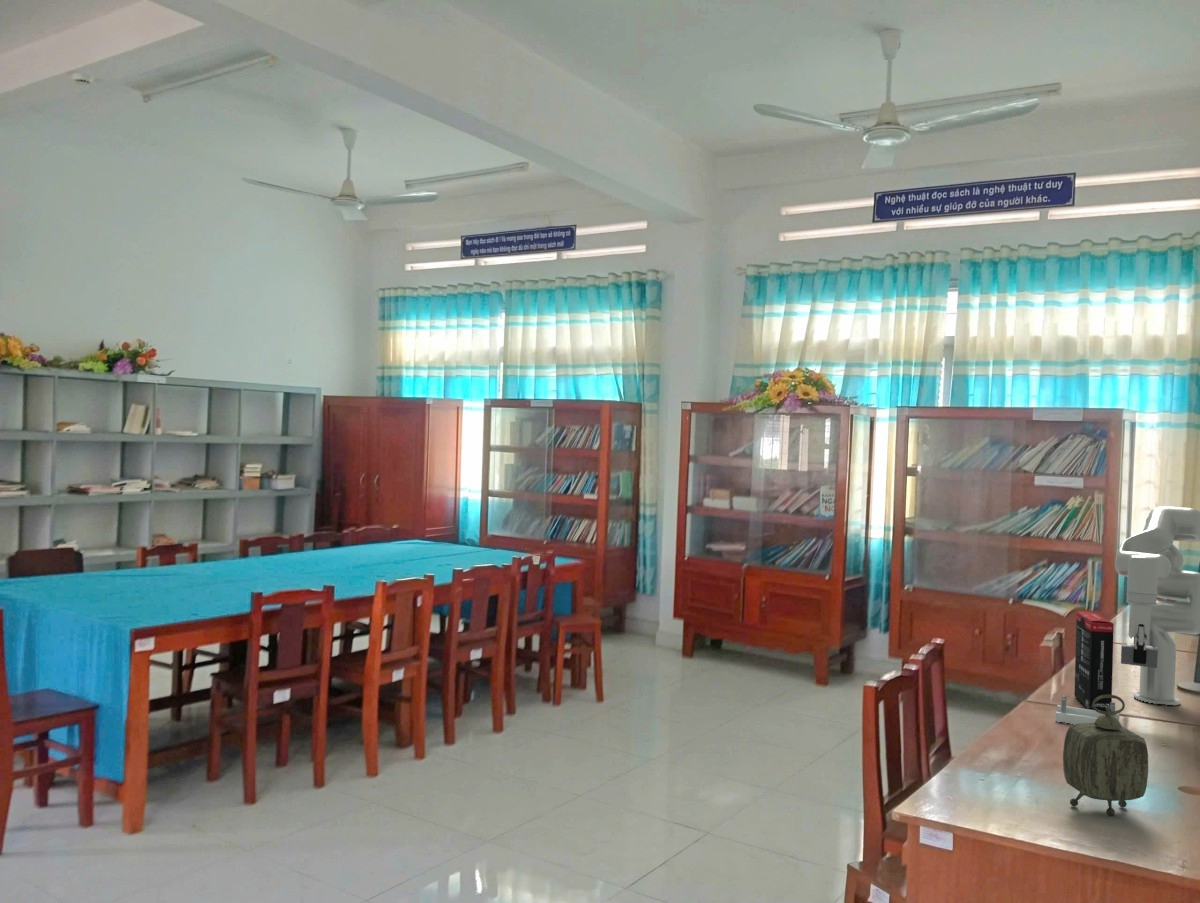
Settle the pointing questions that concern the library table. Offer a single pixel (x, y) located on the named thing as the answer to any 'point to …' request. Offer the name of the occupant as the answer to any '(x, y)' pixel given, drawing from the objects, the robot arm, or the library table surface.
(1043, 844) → the library table surface
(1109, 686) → the graphics card box
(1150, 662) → the block
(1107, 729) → the tabletop clock
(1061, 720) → the white and grey device
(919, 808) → the library table surface
